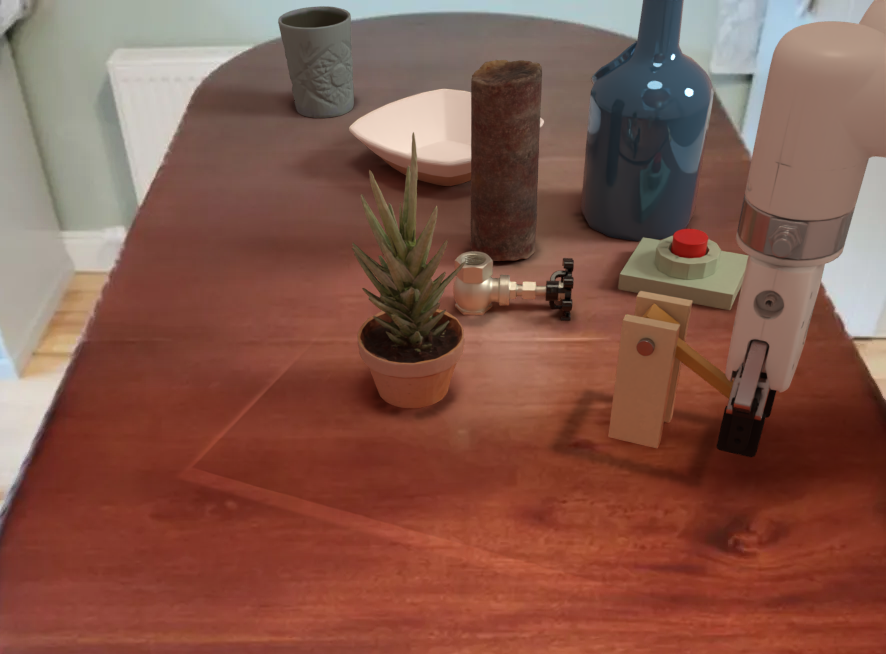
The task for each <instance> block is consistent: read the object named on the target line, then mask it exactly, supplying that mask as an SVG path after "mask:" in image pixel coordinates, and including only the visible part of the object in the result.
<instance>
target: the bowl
mask: <svg viewBox="0 0 886 654" xmlns="http://www.w3.org/2000/svg"><path fill="white" fill-rule="evenodd" d="M544 124H545V120H544V119H543V118H542V117H540V129H541V128H542V127H543V126H544ZM348 131H349V132H350V134H352V136H354V137H355V138H356V139H357V140H358V141H360V143H362V144H363V145H364V146H365V147H367V148H368V149H369V150H370V151H371V152H373V153H374V154H375V155H377V156H378V157H379V158H380V159H381V160H383V161H384V162H385V163H386V164H388V166H390V167H391V168H392V169H394V170H396V171H398V172H399V173H400V174H403V175H404V176H406V174H407V168H408V166H409V167H410V170H411V155H412V134H413V132H414V135H415V142H416V153H417V171H418V174H417V181H421V182H423V183H428V184H432V185H437V186H442V187H453V186H458V185H463V184H464V183H468V182H471V91H467V90H460V89H451V88H439V89H434V90H428V91H423V92H419V93H415V94H413V95H409V96H407V97H404V98H400V99H398V100H394V101H392V102H388V103H386V104H384V105H382V106H380V107H378V108H376V109H373V110H372V111H370V112H367V113H365V114H364V115H362V116H361V117H359V118H358V119H356V120H355V121H354V122H353V123H352V124H350V126H349V127H348Z"/></svg>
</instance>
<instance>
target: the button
mask: <svg viewBox="0 0 886 654" xmlns="http://www.w3.org/2000/svg"><path fill="white" fill-rule="evenodd" d="M672 236H673V241H672V247H671V253H673V254H674V255H676V256H678V257H683V258H700V257H703V256H705V254H706V249H707V243H708V239H709V235H708V234H707V233H706V232H705V231H703V230H700V229H696V228H685V229H682V230H678V231H676V232H675V233H674V235H672Z"/></svg>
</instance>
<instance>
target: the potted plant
mask: <svg viewBox="0 0 886 654" xmlns="http://www.w3.org/2000/svg"><path fill="white" fill-rule="evenodd" d="M417 174H418V171H417V153H416V142H415V135H414V132H413V134H412V155H411V170H410V167H409V166H408V168H407V174H406V175H405V183H404V193H403V202H402V203H401V201H400V202H399V209H398V223H397V219H396V215H395V211H394V208H393V206H392V204H391V202H388V204H387V201H386V199H385V197H384V195H383V193H382V190H381V189H380V187H379V184H378V183H377V180H376V179H375V175H374V173H373V172H372V171H371V170H370V169H368V176H369V183H370V187H371V191H372V194H373V197H374V201H375V205H376V208H377V211H378V215H379V217H380V219H381V222H382V225H383V226H382V225H381V224H380V221H379V220H378V219H377V217H376V216H375V214H374V212H373V210H372V209H371V207H370V205H369V204H368V202H367V201H366V198H365V195H364V194H362V193H361V194H360V201H361V205H362V209H363V212H364V214H365V218H366V220H367V223H368V224H369V227H370V230H371V232H372V235H373V236H374V239H375V240H376V242H377V246H378V247H379V249H380V251H381V254H382V255H378V260H379V262H377V261H376V260H375V259H373V258H372V257H370V256H369V255H368V254H367V253H365V251H363V250H362V249H361V248H360V247H359V246H358V245H356V244H355V243H354V242H352V244H351V245H352V248H351V250H352V251H353V253H354V254H353V255H354V256H355V259H356V260H357V262H358V264H359V265H360V267H361V269H362V271H364V273H365V275H366V276H367V278H368V279H369V280H370V282H371V283H372V285H373V286H374V288H375V289H376V290H377V291H378V293H379V295H380V296H377V295H376V294H375V293H373V292H371V291H369V290H368V289H367V288H365V287H362V288H361V289H362V291H363V292H364V293H365V294H366V296H368V300H369V301H370V302H371V303H372V304H373V305H374V306H375V307H376V308H377V309H379V310H381V311H379V312H377V313H376V314H373V315H372V316H370V317H367V319H366V320H364V322H363V323H362V324H361V326H360V327H359V329H358V332H357V335H356V340H357V347H358V353H359V355H360V358H361V360H362V361H363V363H364V364H365V365H366V366H367V367H368V370H369V371H370V375H371V376H372V379H373V382H374V385H375V387H376V390H377V392H378V395H379V397H380V398H381V399H382V400H383V401H384V402H385V403H387V404H389V405H392V406H394V407H397V408H402V409H421V408H422V409H423V408H427V407H430V406H434V405H435V404H437V403H438V402H440V401H441V400H443V399H444V398H445V397H446V395H447V394H448V392H449V389H450V384H451V380H452V377H453V375H454V372H455V370H456V369H455V368H456V367H457V366H456V365H457V363H458V361H459V360H460V359H461V358H462V356H463V355H464V350H465V330H464V327H463V325H462V323H461V322H460V320H459V319H458V318H457V317H456V316H454V315H453V314H451V313H449V312H448V311H447V310H446V309H443V310H442V309H439V308H440V306H441V301H440V300H441V298H442V296H443V295H444V293H445V290H446V288H447V286H448V285H449V284H451V282H452V281H453V279H454V278H456V277H457V276H456V275H457V273H458V272H459V271H460V270H461V269H462V267H463V266H464V264H465V262H466V261H465V262H463V263H461V265H460V266H459V267H458V268H457V269H456V270H455V269H454V270H453V271H452V272H451V273H450V274H449V275H448V276H447V277H446V274H447V273H446V271H444V272H442V273H441V274H439V276H437V278H435V279H434V280H433V279H432V278H433V276H434V274H435V273H436V271H437V269H438V268H439V265H440V263H441V260H442V258H443V257H444V254H445V252H446V250H447V245H448V240H449V239H445V241H444V242H443V244H442V245H441V246H440V247H439V249H438V251H437V252H436V253H435V255H434V256H433V257H432V258H431V259H430V260H429V261H428V258H429V254H430V250H431V246H432V242H433V236H434V233H435V229H436V225H437V224H436V223H437V220H438V206H437V205H436V206H435V207H434V208H433V210H432V213H431V214H430V216H429V219H428V221H427V223H426V225H425V227H424V228H423V230H422V232H421V234H419V236H418V238H417V239H416V236H417V235H416V234H417V206H418V205H417V204H418V203H417V202H418V193H417V192H418V189H417V188H418V180H417ZM383 227H384V228H383ZM427 261H428V262H427Z"/></svg>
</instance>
